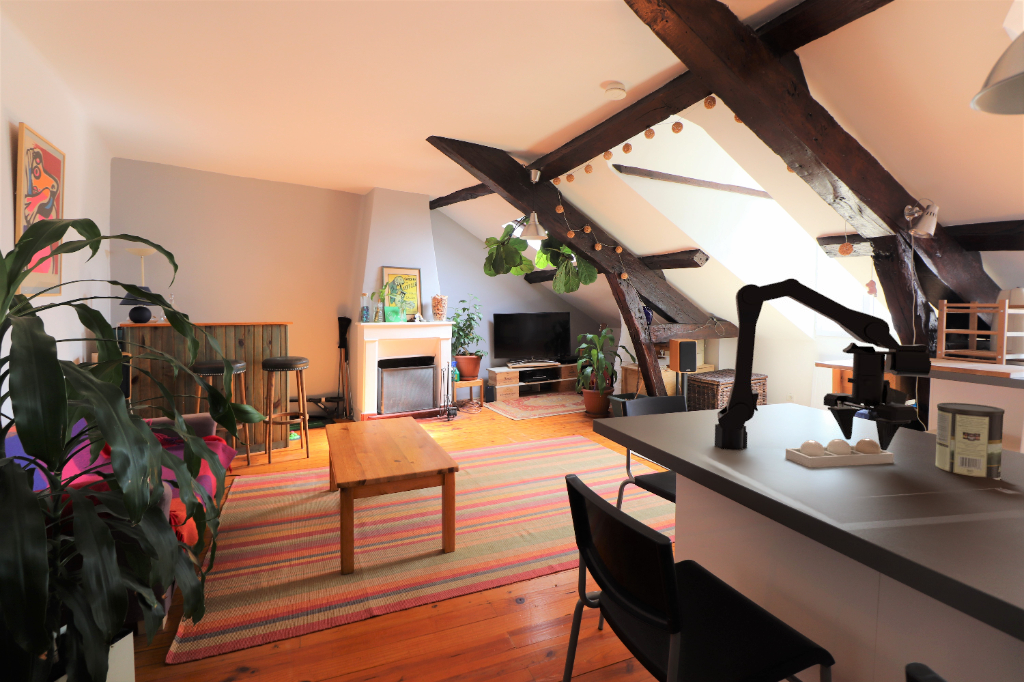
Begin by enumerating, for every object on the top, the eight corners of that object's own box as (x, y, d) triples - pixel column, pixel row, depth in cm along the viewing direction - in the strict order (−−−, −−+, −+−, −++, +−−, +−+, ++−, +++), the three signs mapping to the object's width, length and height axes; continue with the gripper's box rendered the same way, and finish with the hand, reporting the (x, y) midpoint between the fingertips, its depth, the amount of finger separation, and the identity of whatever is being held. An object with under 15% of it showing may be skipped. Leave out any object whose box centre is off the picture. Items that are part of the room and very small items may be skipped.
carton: (809, 471, 106) (809, 457, 105) (785, 461, 113) (785, 448, 113) (893, 467, 109) (893, 453, 109) (864, 457, 116) (865, 444, 116)
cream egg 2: (837, 463, 108) (838, 442, 108) (821, 457, 113) (821, 437, 112) (856, 462, 109) (857, 441, 109) (839, 456, 113) (840, 436, 113)
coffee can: (977, 468, 109) (981, 403, 108) (1014, 484, 98) (1019, 412, 98) (922, 465, 111) (926, 401, 110) (953, 480, 101) (957, 410, 100)
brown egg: (863, 464, 109) (870, 446, 108) (847, 452, 114) (853, 434, 112) (882, 463, 110) (889, 445, 109) (865, 451, 114) (871, 434, 113)
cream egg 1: (810, 465, 107) (811, 443, 107) (794, 458, 112) (795, 438, 111) (829, 464, 108) (830, 442, 108) (813, 457, 112) (814, 437, 112)
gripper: (941, 379, 103) (938, 454, 104) (863, 369, 121) (861, 433, 122) (895, 380, 101) (891, 457, 102) (822, 369, 120) (820, 435, 120)
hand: (865, 444), depth 112 cm, fingers open, 9 cm apart
